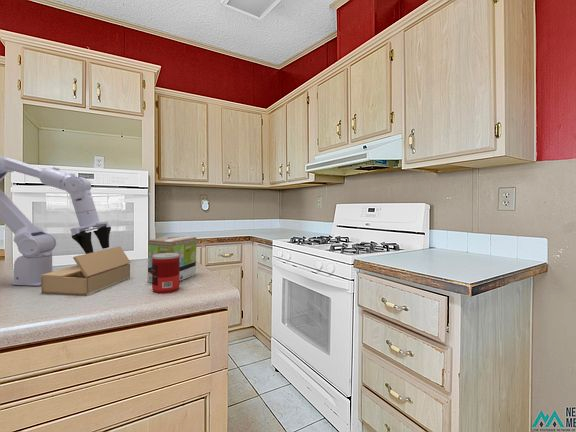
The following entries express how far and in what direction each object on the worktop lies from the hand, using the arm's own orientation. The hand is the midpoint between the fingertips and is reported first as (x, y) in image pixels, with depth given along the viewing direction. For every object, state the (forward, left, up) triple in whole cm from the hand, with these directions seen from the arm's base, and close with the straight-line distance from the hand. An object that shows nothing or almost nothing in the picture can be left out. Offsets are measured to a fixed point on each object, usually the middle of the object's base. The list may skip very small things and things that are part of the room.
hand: (98, 250), depth 99 cm
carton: (+1, -6, -10) cm, 12 cm away
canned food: (+27, -7, -10) cm, 30 cm away
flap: (+6, -6, -2) cm, 9 cm away
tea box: (+23, +6, -11) cm, 26 cm away
